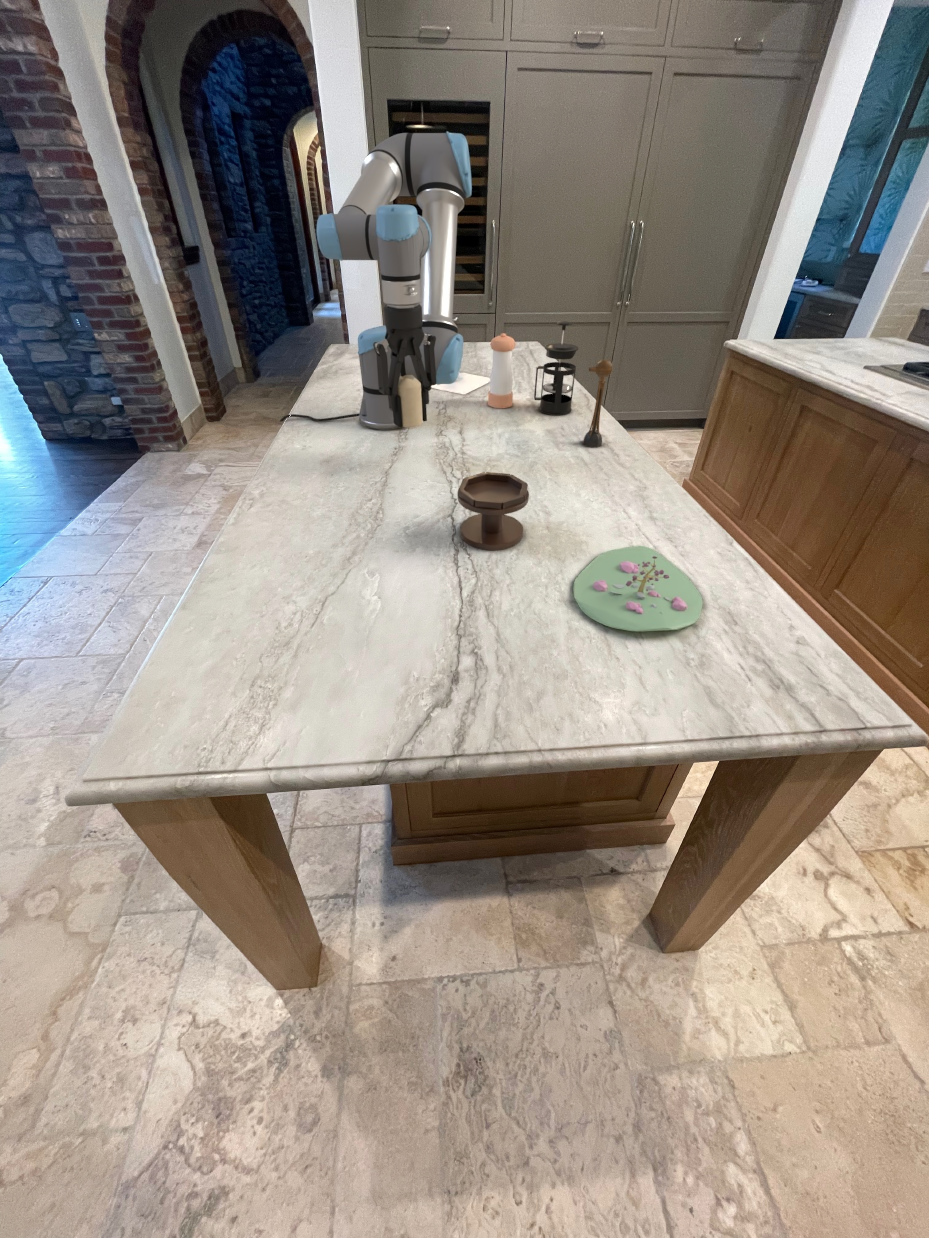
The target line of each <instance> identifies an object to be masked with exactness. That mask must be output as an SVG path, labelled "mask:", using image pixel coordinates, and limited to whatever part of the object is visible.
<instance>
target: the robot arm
mask: <svg viewBox="0 0 929 1238" xmlns="http://www.w3.org/2000/svg"><path fill="white" fill-rule="evenodd" d="M469 151H470V150H469V144H468V141H467V138H466V136H465V135H464V134H463V133H460V132H459V133H458V132H457V133H456V132H449V131H446V132H402V133H397V134H394V135H392V136H390V137H387V138H385V139H384V140H382V141H381V142H379V143H378V144H377V145H375V146H374V147H373V148H372V149H371V150H370V151H369V153H367V155H366V156H365V158H364V160H363V162H362V164H361V168H360V176H359V178H358V179H357V181H356V183H355V184H354V186H353V188H351V191H350V192H349V194H348V196H347V197H346V199H345V200H344V203H343V204H342V205H341V207H340V209H339V211H337V213H333V212H330V213H325V214H320V215H319V216H318V217H317V218H318V219H317V221H316V239H317V244H318V247H319V250H320V252H321V254H322V255H323V257H324V258H326V259H327V260H336V261H337V260H338V261H340V262H341V261H342V262H343V261H379V266H380V267H379V268H380V278H381V279H380V282H381V292H382V302H383V303H384V304H385V305H384V306H383V315H384V316H383V317H384V325H380V326H375V327H371V328H368V329H365V330H363V331H361V332H360V333H359V335H358V337H357V349H358V351H357V355H358V360H359V361H358V362H359V369H360V376H361V385H362V397H361V403H360V408H359V413H352V414H344V415H339V416H332V417H325V418H315V417H313V416H310V415H304V414H296V413H295V414H294V413H292V414H291V413H290V414H291V416H290V414H287V415H284V416H283V417H282V418H280V420H279V422H280V423H281V422H284V421H285V420H287V419H289V418H301V419H308V420H311V421H313V422H329V421H337V420H343V419H349V418H356V417H358V418H359V423H360V425H361V426H363V427H365V428H368V429H371V430H378V431H390V430H391V431H392V430H399V429H403V428H404V427H403V424H402V411H401V398H400V396H399V395H397V390H398V384H399V378H400V376H402V377H403V376H405V375H413V376H414V377H415V378H416V379H417V380H418V381H419V382H420V383H421V397H422V416H423V422H427V421H428V414H427V411H428V410H427V405H429V403H430V394H429V393H430V391H431V390H432V388H431V386H432V385H436V384H437V385H440V384H452V383H454V382H455V381H456V379H457V377H458V375H459V372H461V368H462V367H461V365H462V362H463V356H464V355H463V354H464V336H463V335H462V334H461V333H459V327H458V326H457V324H456V323H455V321H454V320H453V318H454V317H453V315H454V296H455V295H454V294H455V276H456V275H455V274H456V254H457V253H456V252H457V236H458V235H457V233H458V214H459V213H460V212H462V211H463V209H464V208H465V200H466V199H468V198H470V197H471V196H472V191H473V190H472V189H473V187H472V186H473V185H472V170H471V169H472V167H471V158H470V152H469ZM397 197H415V198H416V204H417V205H418V207H419V208H420V210H421V211H422V212H421V215H420V214H418V210H417V208H416V207H415V206H414V205H411V204H389V203H391V202H392V201H394V200H395V199H397ZM289 416H290V417H289Z"/></svg>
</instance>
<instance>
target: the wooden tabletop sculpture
mask: <svg viewBox="0 0 929 1238" xmlns="http://www.w3.org/2000/svg"><path fill="white" fill-rule="evenodd" d="M613 367H614V366H613V364H612V362H611V360H609V359H601V360H600V361H598V362H597V364H596V366H589V367H588V372H589V373H595V374H596V375H597V377H599V378H600V380H599V381H598V387H597V392H596V400H595V404H594V411H593V416H592V419H591V423H590V427H589V430H588V431H587V432H586V433H585V435H584V437H583V440H582V445H584V446H585V447H588V448H599V447H602V444H603V436H602V434H601V432H600V421H601V420H600V419H601V411H602V410H601V409H602V403H603V398H604V397H603V396H604V390H605V384H606V381H605V378H607V377H609V376H610V375H611V373H612V371H613Z"/></svg>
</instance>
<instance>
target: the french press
mask: <svg viewBox="0 0 929 1238" xmlns="http://www.w3.org/2000/svg"><path fill="white" fill-rule="evenodd" d="M556 325H558V326H561V331H562V335H561V342H560V343H559V342H558V343H557V342H556V343H555V342H554V343H549V344H546V345H545V346H544V348H545V350H546V352H545V353H546V354H545V355H546V357H547V358H549V359H552V360H559V361H552V362H551V361H550V362H547V363H544V364H543V365H537V366H536V368H535V381H534V394H533V399H534V401H540V403H539V407H538V411H539V412H541V413H542V414H545V415H548V416H565V415H568V414H570V413H572V402H573V393H574V387H575V386H574V385H575V378H576V371H577V370H576V369H577V366H576V365H575V364H573V363H570V362H564V361H562V360H571V359H573V358H574V356H575V355H576V353H577V351H578V350H579V346H577V345H575V344H571V343H564V337H565V331H566V330H567V329H566V327H567V326H571V325H573V323H572V322H571V321H568V320H563V321H562V320H561V321H557V322H556ZM551 368H554V369H551ZM562 368H565V369H568V370H562ZM539 370H542V379H541V391H540V396H539V397H538V396H537V387H538V386H537V384H538V373H539ZM545 374H547V375H550V376H553V382H548V383H545V384H544V382H545V381H544V380H545ZM572 375H573V376H572ZM565 376H566V377H567V376H572V384H571V385H570V384H567V383H564V377H565ZM544 391H545V392H547V393H545V394H543V392H544ZM568 393H570V395H567V394H568Z"/></svg>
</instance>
